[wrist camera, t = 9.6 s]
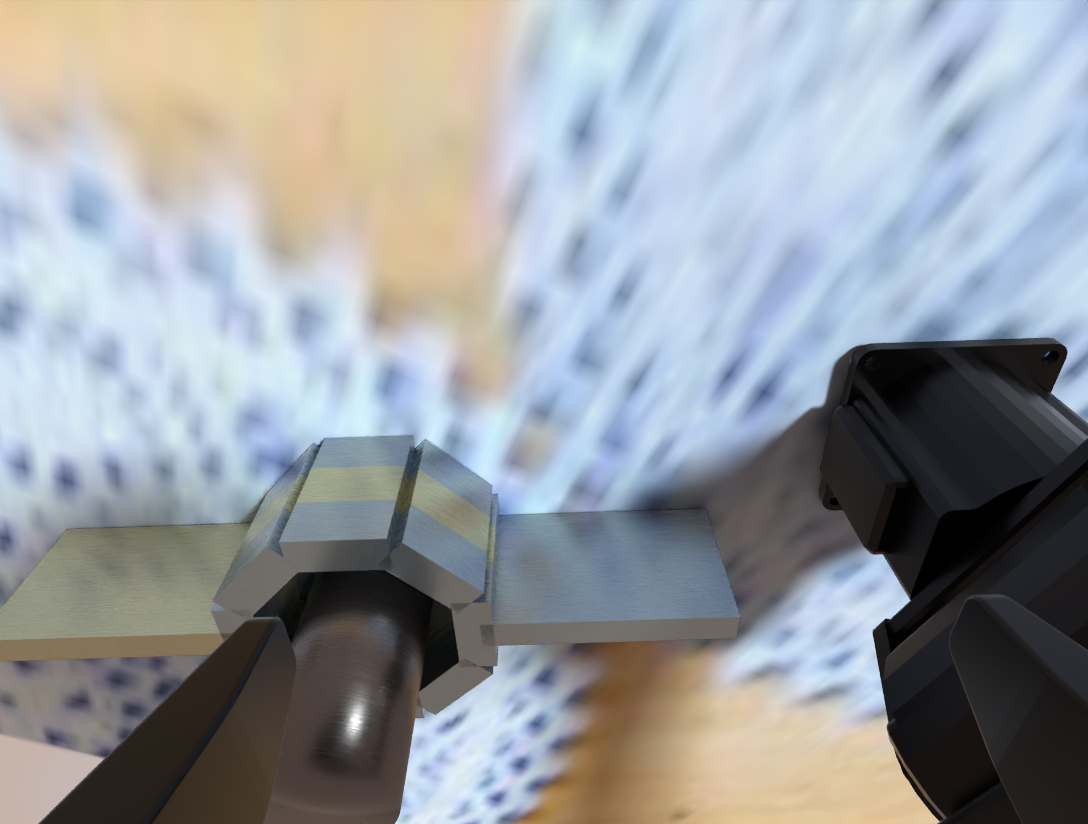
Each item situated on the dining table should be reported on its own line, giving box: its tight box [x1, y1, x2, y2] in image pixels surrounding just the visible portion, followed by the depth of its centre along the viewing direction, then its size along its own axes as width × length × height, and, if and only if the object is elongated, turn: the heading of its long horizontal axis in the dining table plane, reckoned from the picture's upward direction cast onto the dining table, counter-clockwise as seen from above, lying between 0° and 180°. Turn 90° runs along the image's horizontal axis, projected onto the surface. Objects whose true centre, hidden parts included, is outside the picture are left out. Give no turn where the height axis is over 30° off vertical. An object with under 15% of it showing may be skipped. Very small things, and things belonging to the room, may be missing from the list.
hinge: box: [0, 435, 740, 718], centre depth 23 cm, size 24×8×5 cm, turn 92°
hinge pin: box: [264, 570, 434, 824], centre depth 21 cm, size 4×4×10 cm
